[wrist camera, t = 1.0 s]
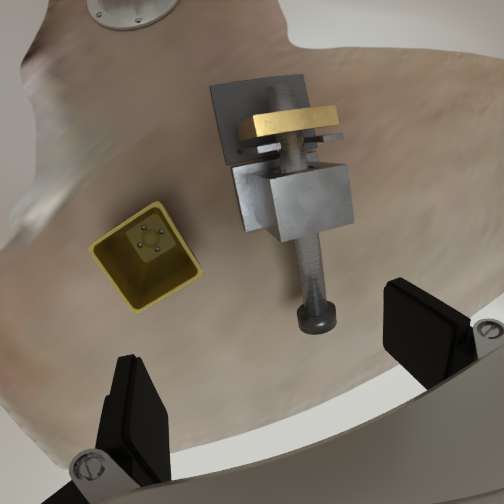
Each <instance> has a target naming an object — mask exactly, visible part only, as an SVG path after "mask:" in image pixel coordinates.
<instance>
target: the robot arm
mask: <svg viewBox="0 0 504 504" xmlns="http://www.w3.org/2000/svg"><path fill="white" fill-rule="evenodd" d="M178 2H179V0H87V7H88V11H89V13H90V15H91V16H92V17H93V19H94V20H95V21H96V22H97V23H98V24H100V25H102V26H104V27H106V28H109V29H113V30H134V29H138V28H142V27H145V26H148V25H151V24H153V23H155V22H157V21H158V20H160V19H162V18H163V17H164V16H166V15H167V14H168V13H169V12H170V11H171V10H173V9H174V7H175V6H176V5H177V3H178ZM100 16H101V17H100ZM138 22H140V23H138ZM470 321H471V319H470V318H468V317H467V316H465V315H463V314H462V313H460V312H458V311H457V310H455V309H454V308H452V307H450V306H449V305H447V304H445V303H444V302H442V301H440V300H439V299H437V298H435V297H434V296H432V295H430V294H429V293H427V292H425V291H424V290H422V289H420V288H419V287H417V286H415V285H413V284H412V283H410V282H408V281H407V280H405V279H403V278H401V277H400V278H397V279H394V280H391V281H388V282H387V284H386V286H385V287H384V312H383V346H384V348H385V350H386V351H387V352H388V353H389V354H390V355H391V356H392V357H393V358H394V359H395V360H397V361H398V362H399V363H400V364H401V365H402V366H403V367H404V368H405V369H406V370H407V371H408V372H409V373H410V374H411V375H412V376H413V377H414V378H415V379H416V380H418V382H419V383H420V384H422V385H423V386H424V387H425V388H426V389H427V391H425V392H424V393H422V394H420V395H419V396H416V397H415V398H413V399H411V400H409V401H407V402H405V403H403V404H401V405H400V406H398V407H396V408H394V409H392V410H390V411H388V412H386V413H384V414H382V415H379V416H378V417H375V418H373V419H371V420H369V421H367V422H364V423H362V424H360V425H358V426H355V427H353V428H351V429H349V430H346V431H344V432H341V433H339V434H337V435H334V436H332V437H329V438H327V439H324V440H321V441H319V442H316V443H313V444H310V445H308V446H305V447H302V448H299V449H296V450H293V451H290V452H287V453H284V454H281V455H278V456H275V457H271V458H268V459H264V460H261V461H257V462H254V463H250V464H246V465H242V466H238V467H234V468H230V469H226V470H222V471H218V472H213V473H209V474H204V475H199V476H194V477H189V478H183V479H178V480H173V481H172V480H171V466H170V449H169V425H168V414H167V411H166V409H165V407H164V405H163V403H162V401H161V399H160V397H159V395H158V393H157V391H156V389H155V387H154V385H153V383H152V381H151V378H150V376H149V374H148V372H147V370H146V368H145V366H144V363H143V361H142V359H141V358H140V357H137V358H136V356H135V355H134V354H131V355H126V356H122V357H118V360H117V364H116V368H115V373H114V377H113V382H112V386H111V391H110V395H107V396H106V397H105V400H104V404H103V409H102V414H101V419H100V424H99V429H98V434H97V440H96V446H95V449H88V450H84V451H82V452H80V453H79V454H77V455H76V456H75V457H74V458H73V460H72V461H71V463H70V466H69V474H70V476H71V479H72V480H71V481H70V482H68V483H67V484H66V485H65V486H63V487H62V488H61V489H59V490H58V491H57V492H56V493H54V494H53V495H52V496H50V497H49V498H48V499H46V500H45V501H44V502H42V503H41V504H504V324H503V323H502V322H500V321H498V320H495V319H482V320H479V321H477V322H476V323H475V324H474V326H473V327H471V326H470Z"/></svg>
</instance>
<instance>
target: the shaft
mask: <svg viewBox="0 0 504 504" xmlns="http://www.w3.org/2000/svg"><path fill="white" fill-rule="evenodd" d="M265 89H266V94H267V99H268V103H269V108H270V113H272V112H279V111H286V110H294V109H297V104H296V100H295V95H294V90H293V86H292V84H290V83H285V84H278V85H273V86H269V87H267V88H265ZM275 137H276V142H277V143H280V144H281V149H278V153H279V158H280V163H281V168H282V173H289V172H294V171H299V170H304V169H309V168H308V162H307V156H306V151H305V145H304V140H303V135H302V130H297V131H290V132H284V133H278V134H275ZM294 243H295V249H296V255H297V262H298V268H299V275H300V281H301V288H302V295H303V302H304V304H303V305H301V306H300V307H299V308H298V310H297V318H298V324H299V328H300V330H301V331H302V332H304V333H307V334H312V335H317V334H323V333H326V332H328V331H330V330H332V329H333V328H334V327H335V326H336V323H337V320H336V308H335V305H334V304H333V303H332V302H329V301H327V299H326V290H325V281H324V272H323V264H322V255H321V248H320V240H319V233H315V234H311V235H307V236H303V237H300V238H296V239H294Z"/></svg>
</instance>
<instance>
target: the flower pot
mask: <svg viewBox="0 0 504 504" xmlns="http://www.w3.org/2000/svg"><path fill="white" fill-rule="evenodd" d="M143 225H145V226H146V229H145V230H143V229H142V226H143ZM160 229H163V230H164V233H162V234H161V233H160V232H159V231H160ZM138 243H142V247H139V246H138ZM156 247H159V248H160V250H159V251H156V249H155V248H156ZM88 250H89V252H90V254H91V255H92V257H93V258H94V260H95V261H96V262H97V264H98V265H99V267H100V268H101V269H102V271H103V272H104V273H105V275H106V276H107V277H108V279H109V280H110V282H111V283H112V284H113V286H114V287H115V289H116V290H117V291H118V293H119V294H120V296H121V297H122V299H123V300H124V301H125V303H126V304H127V306H128V307H129V308H130V309H131V311H132V312H134V313H135V314H139V313H141V312H143V311H144V310H146V309H148V308H149V307H151V306H153V305H154V304H156V303H157V302H159V301H161V300H163V299H164V298H166V297H168V296H169V295H171V294H173V293H174V292H176V291H178V290H179V289H181V288H183V287H185V286H186V285H188V284H190V283H191V282H193V281H195V280H197V279H198V278H200V277H201V276H202V275H203V269H202V267H201V266H200V264H199V262H198V261H197V259H196V257H195V255H194V253H193V252H192V250H191V249H190V247H189V246H188V244H187V243H186V241H185V240H184V238H183V236H182V235H181V233H180V232H179V230H178V228H177V227H176V225H175V223H174V222H173V220H172V218H171V217H170V215H169V213H168V212H167V210H166V208H165V206H164V205H163V203H162V202H161V201H155V202H153V203H151V204H150V205H148V206H147V207H145V208H144V209H142V210H141V211H139V212H138V213H136V214H135V215H133V216H132V217H130V218H129V219H127V220H126V221H124V222H122V223H121V224H119V225H118V226H116V227H115V228H113V229H112V230H110V231H109V232H107V233H106V234H104V235H103V236H101V237H100V238H98V239H97V240H95V241H94V242H93V243H91V244H90V245H89V247H88Z"/></svg>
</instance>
